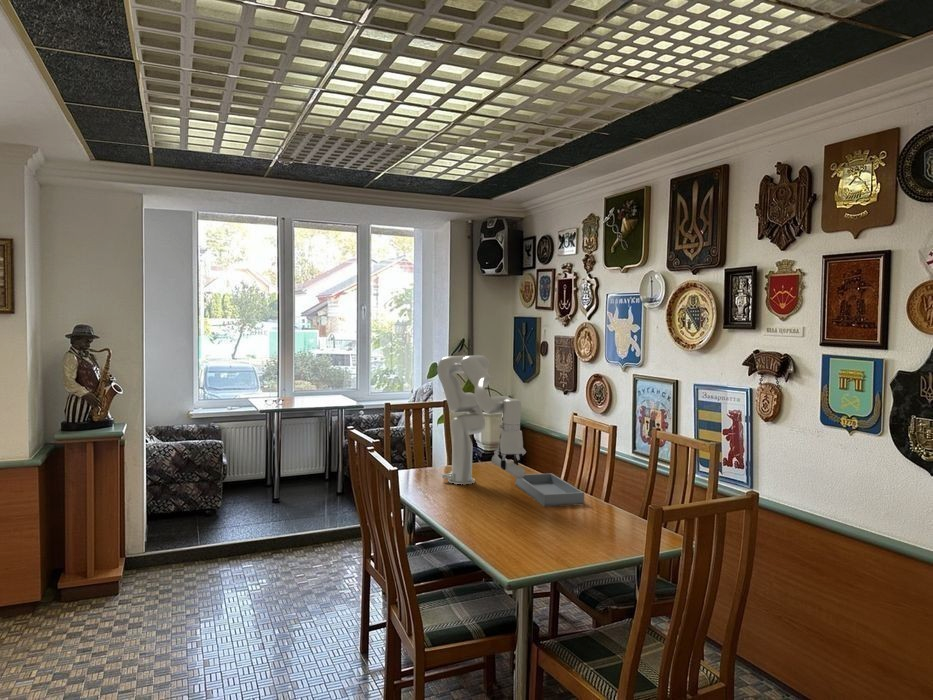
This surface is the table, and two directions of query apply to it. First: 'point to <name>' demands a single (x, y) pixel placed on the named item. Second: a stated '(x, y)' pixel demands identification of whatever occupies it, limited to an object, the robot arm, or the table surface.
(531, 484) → the bin
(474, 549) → the table surface
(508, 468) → the tube
